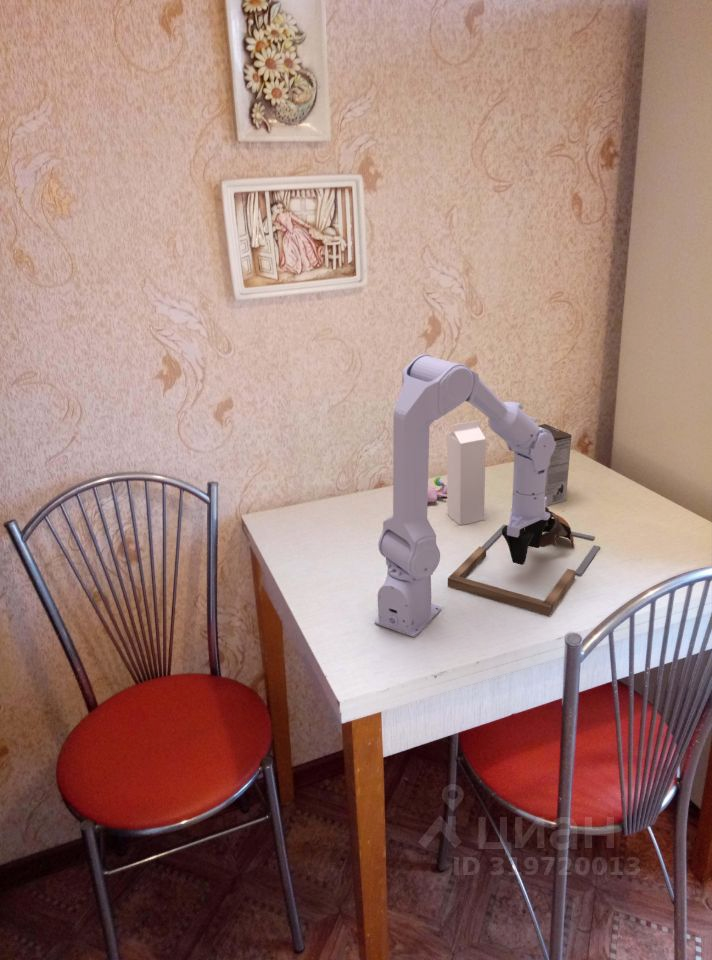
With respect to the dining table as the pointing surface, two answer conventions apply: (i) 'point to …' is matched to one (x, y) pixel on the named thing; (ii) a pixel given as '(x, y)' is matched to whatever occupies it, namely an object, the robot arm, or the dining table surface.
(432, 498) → the rabbit figure
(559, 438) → the coffee box
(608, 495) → the dining table surface
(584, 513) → the dining table surface
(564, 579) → the walnut holder
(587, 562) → the grey open frame
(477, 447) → the milk
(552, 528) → the pottery mug
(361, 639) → the dining table surface
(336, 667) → the dining table surface
